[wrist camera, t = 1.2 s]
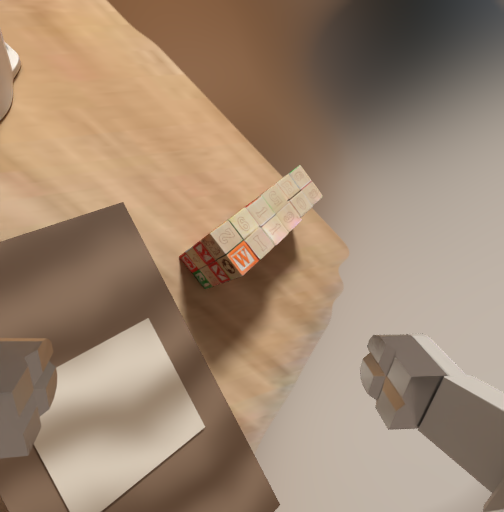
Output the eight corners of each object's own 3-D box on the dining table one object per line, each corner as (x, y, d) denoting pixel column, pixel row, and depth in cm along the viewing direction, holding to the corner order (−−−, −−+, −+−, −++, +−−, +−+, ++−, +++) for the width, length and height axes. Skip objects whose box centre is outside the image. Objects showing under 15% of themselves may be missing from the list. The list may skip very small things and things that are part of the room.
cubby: (-41, 307, 35) (-118, 278, 20) (103, 250, 43) (123, 201, 28) (90, 552, 35) (109, 701, 21) (207, 451, 43) (282, 506, 29)
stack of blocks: (269, 188, 59) (313, 154, 48) (290, 216, 60) (338, 189, 49) (177, 257, 48) (209, 232, 37) (204, 291, 48) (243, 276, 38)
